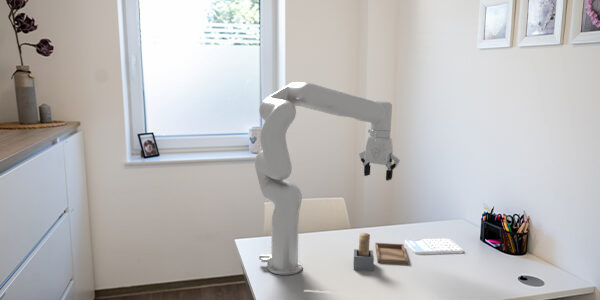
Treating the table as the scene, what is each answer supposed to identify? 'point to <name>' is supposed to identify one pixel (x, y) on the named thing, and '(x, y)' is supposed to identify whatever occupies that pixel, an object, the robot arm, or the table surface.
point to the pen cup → (363, 261)
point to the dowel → (364, 244)
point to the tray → (391, 253)
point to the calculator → (433, 246)
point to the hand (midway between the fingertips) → (377, 177)
